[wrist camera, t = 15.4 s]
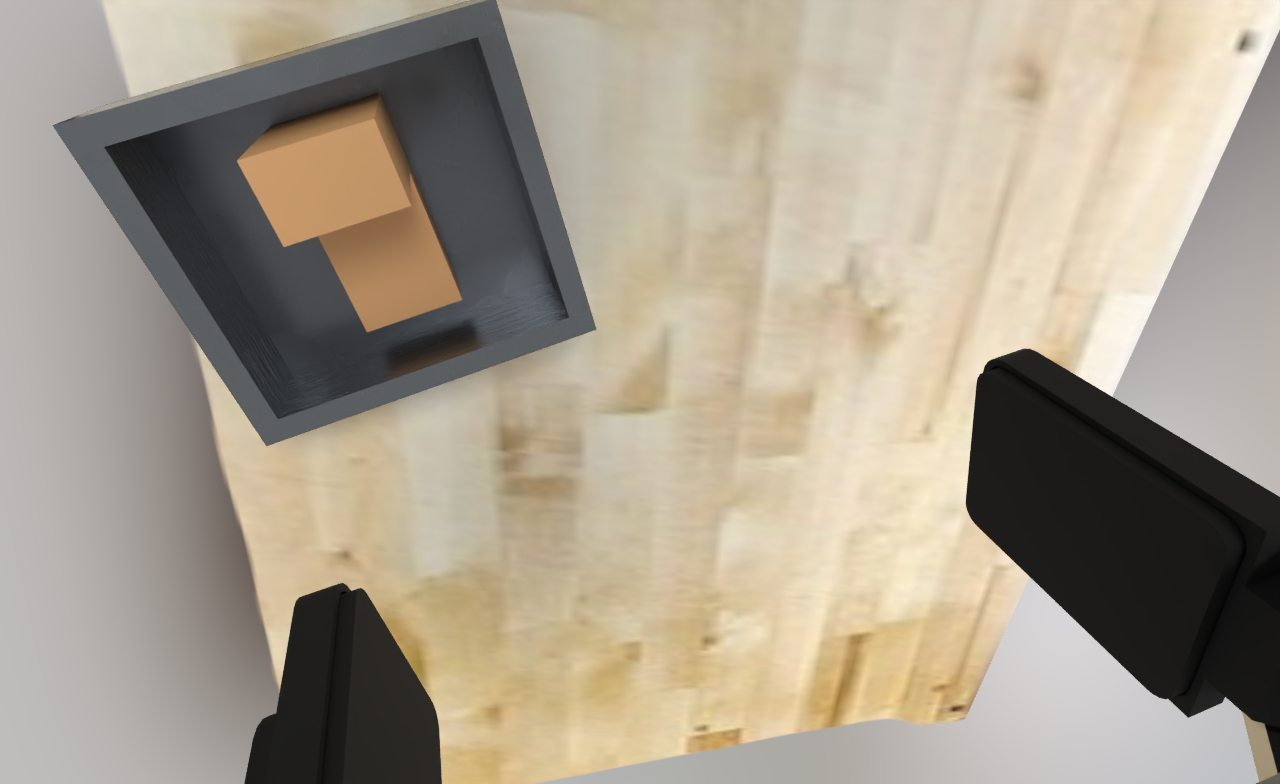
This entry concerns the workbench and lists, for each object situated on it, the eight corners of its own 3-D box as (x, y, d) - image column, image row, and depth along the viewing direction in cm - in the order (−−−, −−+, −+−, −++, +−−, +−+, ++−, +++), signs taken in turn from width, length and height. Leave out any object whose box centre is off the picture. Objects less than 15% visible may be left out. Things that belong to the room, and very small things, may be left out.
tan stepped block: (270, 126, 28) (236, 161, 23) (379, 93, 29) (374, 118, 23) (368, 319, 33) (361, 389, 27) (460, 288, 34) (472, 350, 28)
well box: (106, 104, 27) (52, 125, 23) (481, -3, 29) (495, -2, 25) (282, 390, 34) (266, 446, 30) (573, 290, 36) (596, 329, 32)
